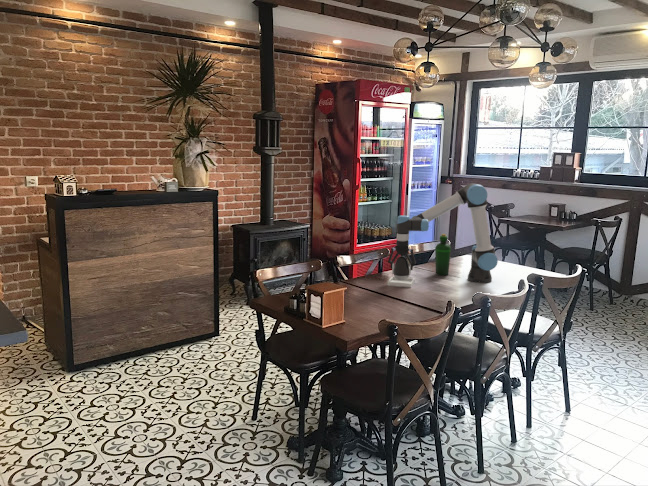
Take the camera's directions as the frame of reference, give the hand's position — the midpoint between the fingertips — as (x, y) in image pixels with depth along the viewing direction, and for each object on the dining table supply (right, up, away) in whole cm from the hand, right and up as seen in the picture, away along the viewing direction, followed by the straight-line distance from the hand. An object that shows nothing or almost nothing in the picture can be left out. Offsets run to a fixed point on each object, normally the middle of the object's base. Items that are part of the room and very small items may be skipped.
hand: (401, 274), depth 334 cm
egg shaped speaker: (0, -3, +1) cm, 3 cm away
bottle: (+32, -2, +26) cm, 41 cm away
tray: (0, -6, +1) cm, 6 cm away
